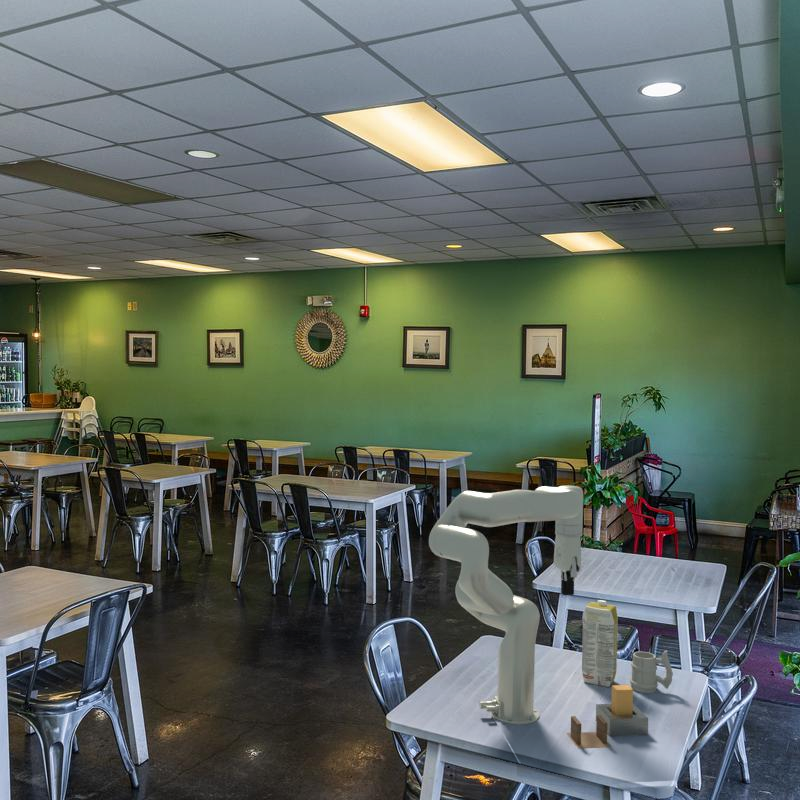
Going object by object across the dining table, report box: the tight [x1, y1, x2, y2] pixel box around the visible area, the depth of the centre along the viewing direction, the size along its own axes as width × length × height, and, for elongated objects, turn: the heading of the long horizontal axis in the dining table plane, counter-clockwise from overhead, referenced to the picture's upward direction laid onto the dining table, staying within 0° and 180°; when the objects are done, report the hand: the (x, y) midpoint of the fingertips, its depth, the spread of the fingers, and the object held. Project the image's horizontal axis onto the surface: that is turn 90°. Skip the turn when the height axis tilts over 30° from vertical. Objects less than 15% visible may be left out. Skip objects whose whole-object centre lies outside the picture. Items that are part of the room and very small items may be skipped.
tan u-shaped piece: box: [566, 715, 612, 749], centre depth 182 cm, size 8×8×6 cm
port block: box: [595, 703, 649, 737], centre depth 189 cm, size 10×9×5 cm
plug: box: [610, 684, 634, 715], centre depth 189 cm, size 4×3×10 cm
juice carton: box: [581, 599, 619, 688], centre depth 222 cm, size 9×8×24 cm
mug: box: [629, 650, 674, 694], centre depth 216 cm, size 8×12×12 cm, turn 67°
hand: (567, 594), depth 210 cm, fingers closed
